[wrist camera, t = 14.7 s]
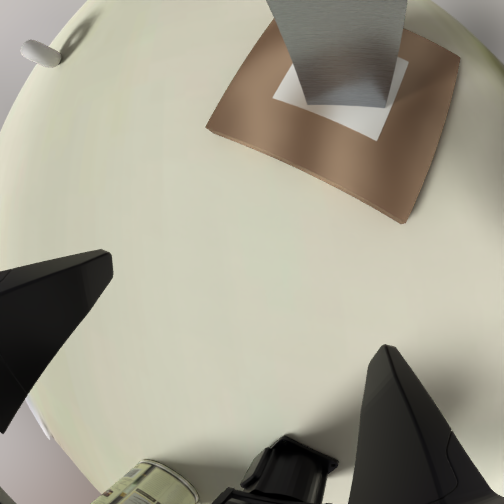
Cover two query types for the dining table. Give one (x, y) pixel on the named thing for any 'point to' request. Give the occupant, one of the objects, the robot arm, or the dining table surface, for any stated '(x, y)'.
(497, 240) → the dining table surface
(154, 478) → the coffee can
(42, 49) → the donut
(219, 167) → the dining table surface
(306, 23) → the gray block
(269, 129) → the walnut board
